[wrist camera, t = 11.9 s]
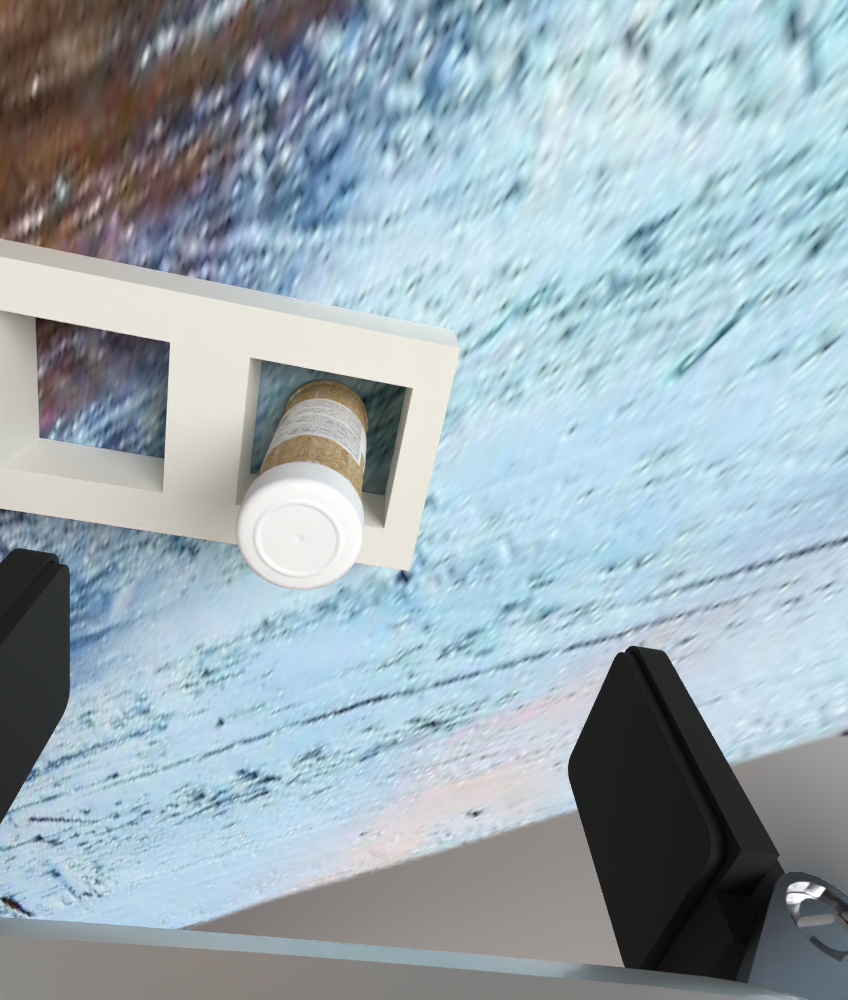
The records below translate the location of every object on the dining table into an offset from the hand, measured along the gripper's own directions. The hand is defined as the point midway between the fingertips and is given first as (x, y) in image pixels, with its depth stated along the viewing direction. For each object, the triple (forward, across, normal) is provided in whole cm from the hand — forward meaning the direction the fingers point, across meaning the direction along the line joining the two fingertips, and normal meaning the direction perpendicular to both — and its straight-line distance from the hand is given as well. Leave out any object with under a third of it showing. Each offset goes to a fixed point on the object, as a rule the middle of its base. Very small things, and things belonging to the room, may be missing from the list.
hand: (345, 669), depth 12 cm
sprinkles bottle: (+26, +1, +5) cm, 26 cm away
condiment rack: (+25, +7, +5) cm, 27 cm away
